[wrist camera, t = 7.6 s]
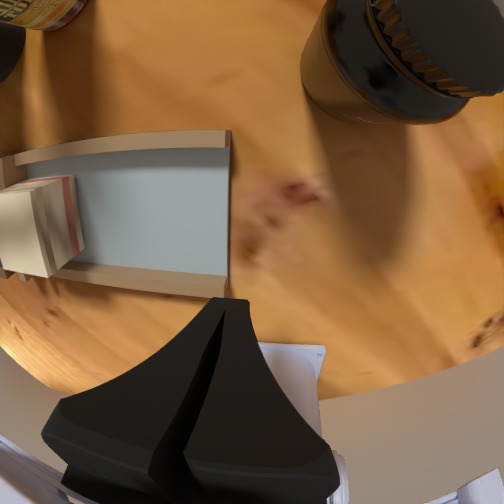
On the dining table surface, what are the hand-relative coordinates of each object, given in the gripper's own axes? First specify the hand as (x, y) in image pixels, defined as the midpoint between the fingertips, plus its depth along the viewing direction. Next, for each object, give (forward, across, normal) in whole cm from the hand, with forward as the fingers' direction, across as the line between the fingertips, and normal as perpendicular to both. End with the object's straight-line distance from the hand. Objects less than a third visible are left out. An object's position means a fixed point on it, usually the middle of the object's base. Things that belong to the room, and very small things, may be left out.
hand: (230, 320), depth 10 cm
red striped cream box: (+9, +16, -1) cm, 19 cm away
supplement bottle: (+10, -6, -11) cm, 16 cm away
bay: (+10, +11, -1) cm, 15 cm away
